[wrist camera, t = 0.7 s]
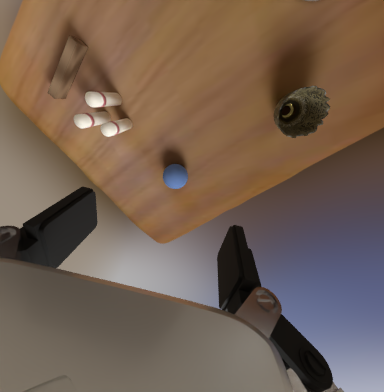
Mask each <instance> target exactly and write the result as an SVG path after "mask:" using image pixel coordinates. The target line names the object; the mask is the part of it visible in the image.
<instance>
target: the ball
mask: <svg viewBox="0 0 384 392" xmlns="http://www.w3.org/2000/svg"><path fill="white" fill-rule="evenodd" d="M187 179H188V174H187V171H186V169H185V168H184V167H183V166H181V165H179V164H172V165H169V166H168V167H167V168H166V169H165V170H164V173H163V180H164V182H165V184H166V185H167V186H168V187H170V188H173V189H178V188H181V187H183V186H184V185H185V184H186V182H187Z"/></svg>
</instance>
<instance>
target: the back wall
mask: <svg viewBox="0 0 384 392" xmlns="http://www.w3.org/2000/svg"><path fill="white" fill-rule="evenodd" d="M87 49H88V47H87V46H86V45H85V44H84V43H83V42H82V41H81V40H79V39H77V38H74V37H72V36H70V35H69V37H68V40H67V43H66V45H65V48H64V51H63V53H62V56H61V59H60V61H59V64H58V67H57V69H56V72H55V74H54V77H53V80H52V82H51V85H50V88H49V90H48V94H50V95H51V96H52V97H53V98H54V99H66V96H67V94H68V92H69V90H70V87H71V85H72V83H73V80H74V78H75V76H76V74H77V71H78V69H79V67H80V65H81V62H82V60H83V58H84V56H85V53H86V51H87Z"/></svg>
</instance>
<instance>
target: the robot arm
mask: <svg viewBox="0 0 384 392" xmlns="http://www.w3.org/2000/svg"><path fill="white" fill-rule="evenodd" d="M305 1H318V0H305ZM96 226H97V210H96V196H95V192H93V190H92V189H90V188H86V187H81V188H79V189H78V190H76V191H74V192H73V193H71V194H70V195H68V196H66V197H65V198H64V199H62V200H60V201H59V202H57V203H56V204H54V205H52V206H51V207H49V208H48V209H46V210H44V211H43V212H41V213H40V214H38V215H36V216H35V217H33V218H31V219H30V220H28V221H27V222H25V223H23V227H22V228H20V229H19V228H18V227H15V226H1V227H0V392H344V391H343V390H342V389H341V388H339V389H338V388H337V387H336V385H335V384H334V383H333V377H332V373H331V370H330V368H329V366H328V364H327V362H326V360H325V359H324V357H323V356H322V355H321V354H320V353H319V352H318V350H317V349H316V348H315V347H314V346H313V345H312V344H311V343H310V342H309V341H308V340H307V339H306V338H305V337H304V336H303V335H302V334H301V333H300V332H299V331H298V330H297V329H296V328H295V327H294V326H293V325H292V324H291V323H290V322H289V321H288V320H287V319H286V318H285V317H284V316H283V315H282V314H281V311H282V309H281V304H280V302H279V300H278V299H277V297H276V296H275V295H274V294H273V293H272V292H271V291H269V290H268V289H266V288H264V287H261V283H260V279H259V276H258V272H257V269H256V265H255V261H254V258H253V254H252V251H251V249H248V246H247V242H246V238H245V234H244V230H243V227H241V226H236V225H233V227H230V228H229V230H228V232H227V234H226V237H225V239H224V241H223V243H222V246H221V248H220V250H219V253H218V257H217V261H218V287H219V288H218V289H219V307H220V308H221V309H222V310H221V309H217V308H214V307H210V306H207V305H203V304H199V303H196V302H192V301H188V300H184V299H180V298H176V297H172V296H168V295H164V294H160V293H156V292H152V291H148V290H144V289H140V288H136V287H132V286H127V285H123V284H119V283H115V282H111V281H107V280H103V279H99V278H94V277H90V276H86V275H81V274H77V273H73V272H69V271H65V270H61V269H56V268H57V267H58V266H59V265H60V264H61V263H62V262H63V261H64V260H65V259H66V258H67V257H68V256H69V255H70V254H71V253H72V252H73V251H74V250H75V249H76V247H77V246H78V245H79V244H80V243H81V242H82V241H83V240H84V239H85V238H86V237H87V236H88V235H89V234H90V233H91V232H92V231H93V230H94V229H95V227H96Z"/></svg>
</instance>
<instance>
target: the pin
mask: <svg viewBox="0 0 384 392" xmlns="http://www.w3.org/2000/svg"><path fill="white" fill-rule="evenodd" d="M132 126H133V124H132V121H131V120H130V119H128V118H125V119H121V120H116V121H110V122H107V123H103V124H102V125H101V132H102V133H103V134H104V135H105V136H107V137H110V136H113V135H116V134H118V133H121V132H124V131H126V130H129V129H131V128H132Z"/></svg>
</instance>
